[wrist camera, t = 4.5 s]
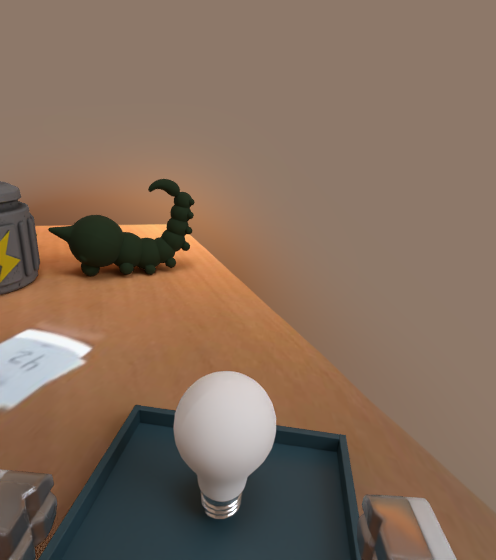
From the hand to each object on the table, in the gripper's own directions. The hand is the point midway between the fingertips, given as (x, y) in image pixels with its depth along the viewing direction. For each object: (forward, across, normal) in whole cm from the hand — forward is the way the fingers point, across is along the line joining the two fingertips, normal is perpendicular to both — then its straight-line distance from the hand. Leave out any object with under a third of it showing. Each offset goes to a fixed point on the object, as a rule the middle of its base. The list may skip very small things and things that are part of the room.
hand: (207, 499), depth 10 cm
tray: (+12, 0, +16) cm, 20 cm away
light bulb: (+12, 0, +16) cm, 20 cm away
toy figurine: (+60, +23, +16) cm, 66 cm away
